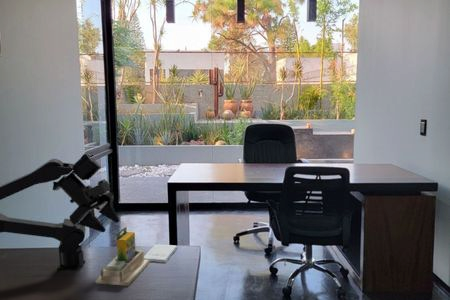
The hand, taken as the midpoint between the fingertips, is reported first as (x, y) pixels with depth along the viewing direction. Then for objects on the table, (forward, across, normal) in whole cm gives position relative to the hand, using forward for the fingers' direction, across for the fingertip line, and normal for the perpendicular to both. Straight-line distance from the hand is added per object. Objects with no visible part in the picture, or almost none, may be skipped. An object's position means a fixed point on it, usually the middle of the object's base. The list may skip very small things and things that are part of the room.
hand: (111, 226), depth 127 cm
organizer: (+13, -3, +6) cm, 15 cm away
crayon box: (+12, 0, +6) cm, 14 cm away
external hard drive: (+18, +13, +3) cm, 22 cm away
